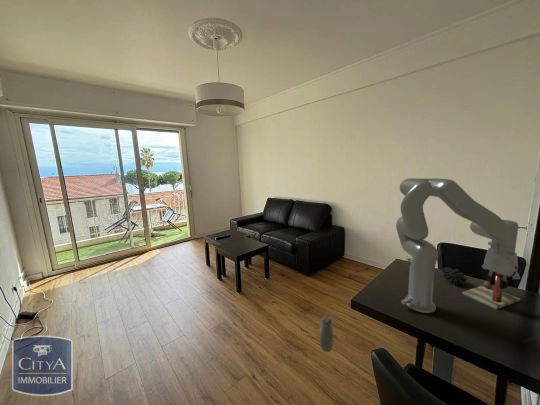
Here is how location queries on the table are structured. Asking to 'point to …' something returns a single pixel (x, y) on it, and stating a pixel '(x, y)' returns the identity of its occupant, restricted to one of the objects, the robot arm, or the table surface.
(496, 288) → the lever
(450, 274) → the fruit
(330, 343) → the glass bottle
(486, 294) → the board
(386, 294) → the table surface
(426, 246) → the robot arm
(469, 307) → the table surface
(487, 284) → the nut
